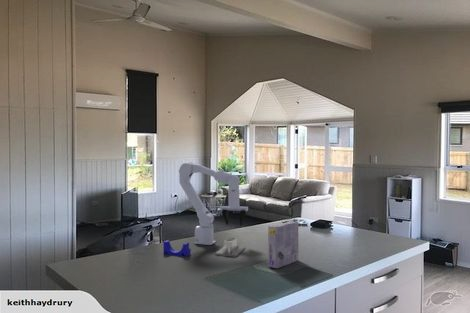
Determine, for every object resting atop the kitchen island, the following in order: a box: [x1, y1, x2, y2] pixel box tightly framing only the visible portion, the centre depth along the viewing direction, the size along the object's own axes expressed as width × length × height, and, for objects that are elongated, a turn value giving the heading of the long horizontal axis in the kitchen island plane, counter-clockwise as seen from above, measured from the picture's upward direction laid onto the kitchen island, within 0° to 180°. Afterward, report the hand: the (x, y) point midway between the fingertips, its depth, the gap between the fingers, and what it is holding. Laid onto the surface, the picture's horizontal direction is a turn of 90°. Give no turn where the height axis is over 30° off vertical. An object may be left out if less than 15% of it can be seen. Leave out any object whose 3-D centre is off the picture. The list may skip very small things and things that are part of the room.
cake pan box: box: [267, 221, 299, 270], centre depth 180 cm, size 19×5×18 cm, turn 141°
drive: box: [223, 236, 238, 252], centre depth 199 cm, size 4×9×5 cm, turn 164°
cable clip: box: [162, 240, 191, 258], centre depth 194 cm, size 12×4×6 cm, turn 68°
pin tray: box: [215, 241, 246, 258], centre depth 199 cm, size 10×16×4 cm, turn 164°
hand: (234, 224), depth 214 cm, fingers open, 7 cm apart
